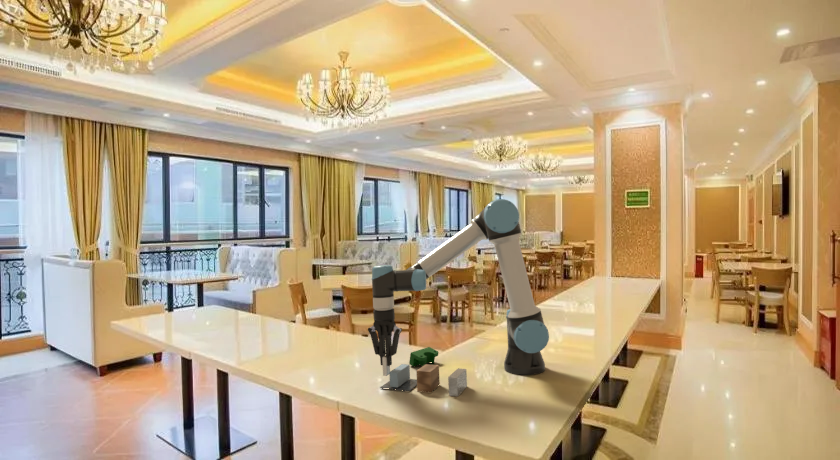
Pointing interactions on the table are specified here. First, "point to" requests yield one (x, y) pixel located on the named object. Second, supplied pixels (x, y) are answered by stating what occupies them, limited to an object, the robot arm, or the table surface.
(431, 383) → the block
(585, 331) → the table surface
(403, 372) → the blue-gray rectangular block
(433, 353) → the clamp
